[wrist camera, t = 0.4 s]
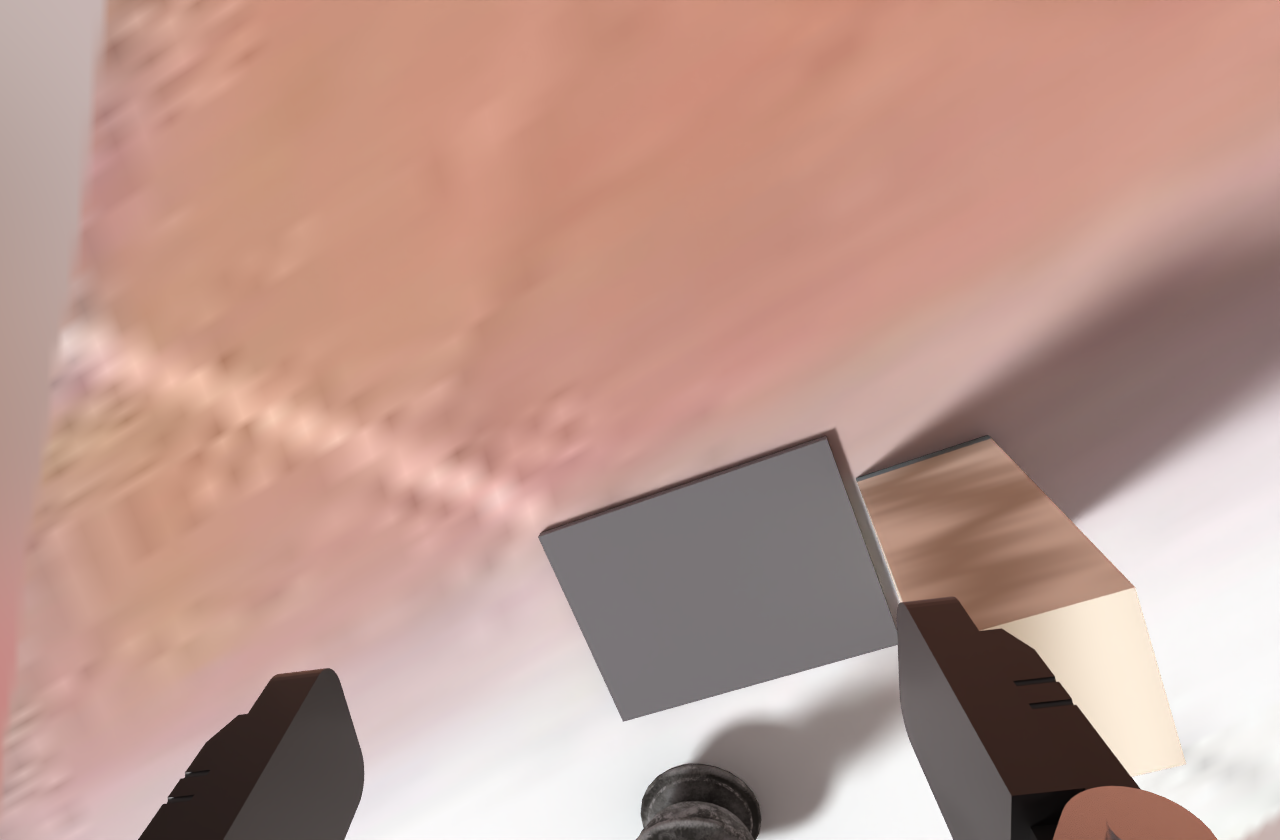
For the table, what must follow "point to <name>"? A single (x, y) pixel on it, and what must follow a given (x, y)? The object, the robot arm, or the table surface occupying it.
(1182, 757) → the birch block
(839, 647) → the gray rectangular block
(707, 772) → the salt shaker
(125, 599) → the table surface
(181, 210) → the table surface
